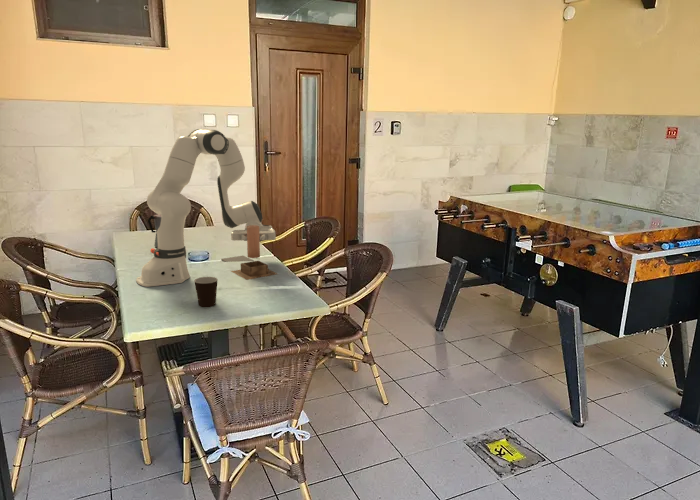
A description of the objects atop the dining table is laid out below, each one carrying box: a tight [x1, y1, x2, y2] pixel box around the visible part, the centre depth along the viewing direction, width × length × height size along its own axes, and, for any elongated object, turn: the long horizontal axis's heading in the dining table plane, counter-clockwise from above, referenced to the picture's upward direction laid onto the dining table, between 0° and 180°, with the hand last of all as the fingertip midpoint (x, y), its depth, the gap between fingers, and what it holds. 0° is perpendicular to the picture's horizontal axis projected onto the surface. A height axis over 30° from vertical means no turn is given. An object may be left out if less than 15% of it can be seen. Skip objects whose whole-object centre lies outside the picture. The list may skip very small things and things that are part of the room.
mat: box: [221, 255, 255, 263], centre depth 265 cm, size 12×12×1 cm
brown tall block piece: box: [246, 225, 261, 259], centre depth 237 cm, size 8×6×14 cm
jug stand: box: [230, 260, 278, 281], centre depth 242 cm, size 16×16×5 cm
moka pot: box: [147, 213, 161, 248], centre depth 288 cm, size 10×15×20 cm, turn 148°
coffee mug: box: [194, 276, 218, 309], centre depth 204 cm, size 12×9×10 cm
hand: (253, 238), depth 237 cm, fingers closed on brown tall block piece, 6 cm apart
